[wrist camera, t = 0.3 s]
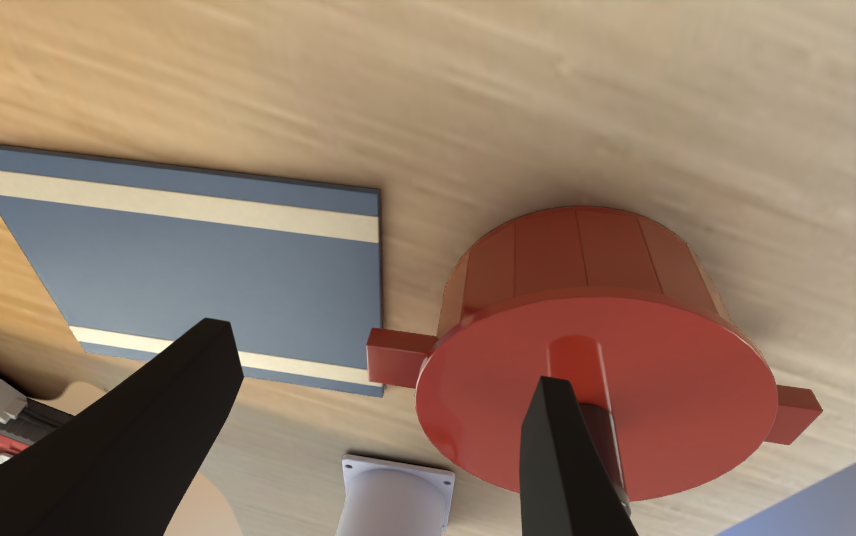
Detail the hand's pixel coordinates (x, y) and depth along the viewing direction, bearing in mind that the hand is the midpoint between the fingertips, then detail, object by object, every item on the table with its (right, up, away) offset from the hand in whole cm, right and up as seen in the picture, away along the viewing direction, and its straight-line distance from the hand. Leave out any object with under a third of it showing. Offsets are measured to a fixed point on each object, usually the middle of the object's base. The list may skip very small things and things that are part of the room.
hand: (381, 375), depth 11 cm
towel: (-11, +2, +14) cm, 18 cm away
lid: (+7, -3, +7) cm, 10 cm away
